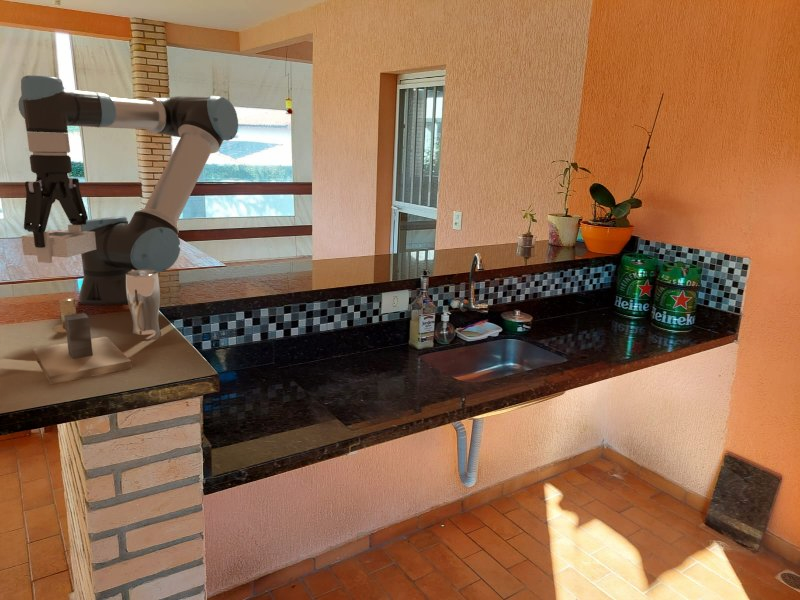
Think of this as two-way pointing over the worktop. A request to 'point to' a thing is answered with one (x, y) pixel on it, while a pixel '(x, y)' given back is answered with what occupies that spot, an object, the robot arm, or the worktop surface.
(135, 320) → the beer glass
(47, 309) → the worktop surface
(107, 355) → the hub base
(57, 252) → the white square frame
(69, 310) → the stand
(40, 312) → the worktop surface
